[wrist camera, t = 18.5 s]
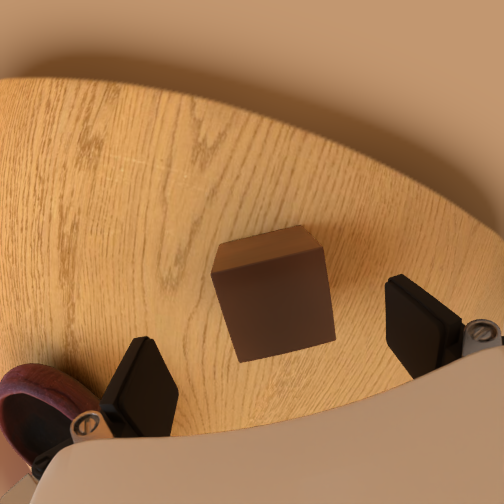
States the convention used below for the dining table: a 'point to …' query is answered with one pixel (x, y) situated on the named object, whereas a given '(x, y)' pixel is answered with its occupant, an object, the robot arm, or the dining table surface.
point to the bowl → (40, 408)
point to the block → (274, 293)
